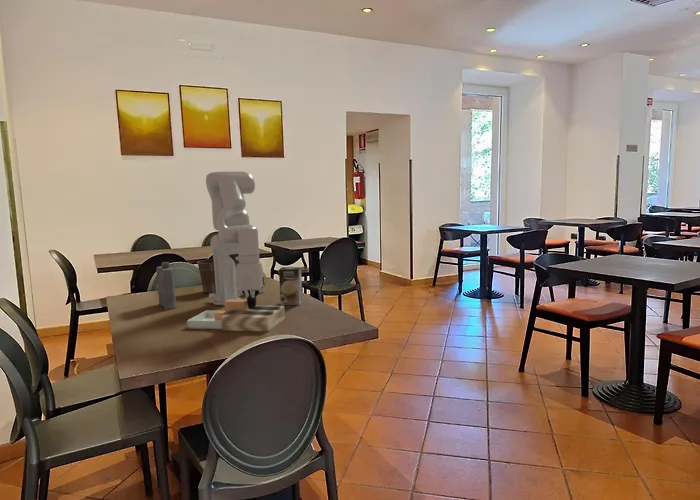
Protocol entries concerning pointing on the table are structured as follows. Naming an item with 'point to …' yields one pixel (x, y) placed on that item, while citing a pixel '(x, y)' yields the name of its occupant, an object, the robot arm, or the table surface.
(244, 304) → the chip
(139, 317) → the table surface
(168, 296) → the flask
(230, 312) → the slot board
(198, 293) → the table surface
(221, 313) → the chip
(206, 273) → the plant pot
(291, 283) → the coffee box
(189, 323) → the tray
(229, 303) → the light brown block
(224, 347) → the table surface
